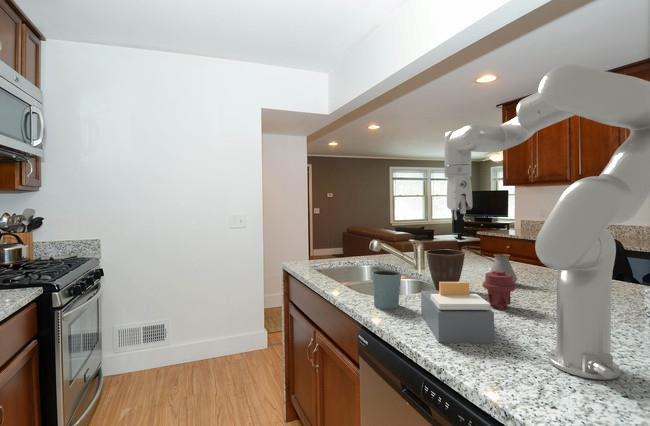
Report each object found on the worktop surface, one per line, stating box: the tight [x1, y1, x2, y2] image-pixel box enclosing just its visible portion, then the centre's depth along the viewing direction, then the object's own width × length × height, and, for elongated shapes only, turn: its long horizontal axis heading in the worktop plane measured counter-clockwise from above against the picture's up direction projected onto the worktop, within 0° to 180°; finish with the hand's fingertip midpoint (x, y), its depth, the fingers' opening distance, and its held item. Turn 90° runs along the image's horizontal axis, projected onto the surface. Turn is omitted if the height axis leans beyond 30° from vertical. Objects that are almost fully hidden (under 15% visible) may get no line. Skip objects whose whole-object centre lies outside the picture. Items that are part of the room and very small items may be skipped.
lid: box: [431, 281, 491, 310], centre depth 95 cm, size 10×13×5 cm
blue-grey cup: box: [371, 269, 402, 311], centre depth 123 cm, size 10×10×12 cm
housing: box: [420, 290, 495, 344], centre depth 100 cm, size 22×14×8 cm, turn 176°
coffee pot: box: [464, 247, 518, 284], centre depth 154 cm, size 21×12×15 cm, turn 50°
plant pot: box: [425, 248, 466, 291], centre depth 141 cm, size 15×15×16 cm
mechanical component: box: [482, 270, 516, 311], centre depth 119 cm, size 12×10×10 cm
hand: (458, 232), depth 104 cm, fingers closed
